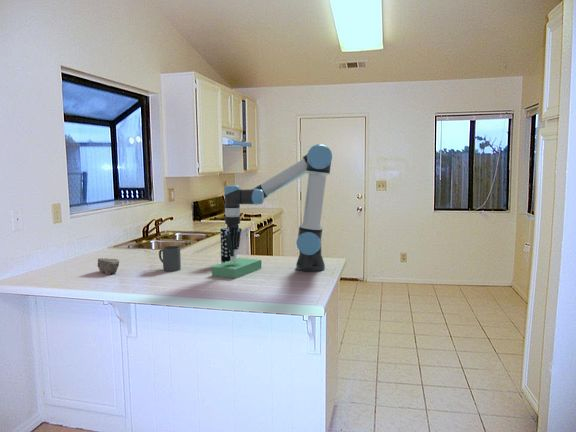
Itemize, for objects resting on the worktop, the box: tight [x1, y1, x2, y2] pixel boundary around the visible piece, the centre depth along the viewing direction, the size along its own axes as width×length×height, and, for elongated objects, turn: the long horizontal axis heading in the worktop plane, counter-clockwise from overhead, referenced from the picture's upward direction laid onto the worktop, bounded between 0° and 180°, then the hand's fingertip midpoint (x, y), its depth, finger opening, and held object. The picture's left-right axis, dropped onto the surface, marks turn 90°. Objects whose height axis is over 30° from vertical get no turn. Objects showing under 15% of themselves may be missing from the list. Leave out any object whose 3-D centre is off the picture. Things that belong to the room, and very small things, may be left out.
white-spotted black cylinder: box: [219, 227, 230, 264], centre depth 255 cm, size 8×8×20 cm
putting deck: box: [211, 257, 262, 279], centre depth 237 cm, size 14×25×5 cm, turn 153°
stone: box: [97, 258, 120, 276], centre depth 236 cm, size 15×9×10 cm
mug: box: [158, 245, 182, 272], centre depth 244 cm, size 14×9×12 cm
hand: (233, 262), depth 233 cm, fingers closed
